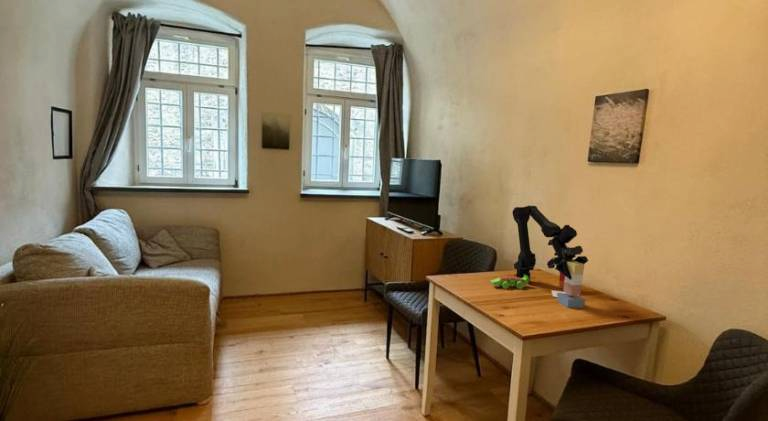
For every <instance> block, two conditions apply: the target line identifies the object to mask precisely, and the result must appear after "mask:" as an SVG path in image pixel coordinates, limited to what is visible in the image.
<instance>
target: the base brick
mask: <svg viewBox="0 0 768 421" xmlns="http://www.w3.org/2000/svg"><path fill="white" fill-rule="evenodd" d="M557 302H558V303H559V304H562V305H563V306H564V307H566V308H567V309H568V308H569V309H571V308H573V309H574V308H576V309H577V308H579V309H581V308H583V309H584V308H585V304H586V299H585V298H583V297H582V296H580V295H579V296H578V295H569V294H567V293H558V297H557Z"/></svg>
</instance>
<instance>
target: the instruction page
mask: <svg viewBox="0 0 768 421" xmlns="http://www.w3.org/2000/svg"><path fill="white" fill-rule="evenodd" d="M558 293H565V292H563V291H561V290H560V291H559V290H551V295H552V297H554V298H558ZM578 296H580V295H578Z"/></svg>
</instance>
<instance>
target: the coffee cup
mask: <svg viewBox="0 0 768 421" xmlns="http://www.w3.org/2000/svg"><path fill="white" fill-rule="evenodd" d="M558 279H559V281H558V283H559V284H558V286H559V287H558V288H559V289H561V290H563V289H564V282H565V275H563V274H562V273H561V272H559V278H558Z"/></svg>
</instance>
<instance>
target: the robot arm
mask: <svg viewBox="0 0 768 421" xmlns="http://www.w3.org/2000/svg"><path fill="white" fill-rule="evenodd" d="M512 216H513V220H514V221H515V223H516V224H517V231H518V240H519V241H518V242H519V250H520V251H519V254H518V256H517V261H516V262H515V263H514V264H513V268H514V269H515V270H516V275H515V277H519V278H523V277H524V275H526V276H528V277H529V282H530V281H531V276H532V275H531V274H532V272H531V271H534V269H535V266H536V263H537V258H536V253H533V252H532V251H531V243H530V236H529V227H528V222H529V221H530V217H531V218H532V220H534V222H536V224H538V225H539V227H540V228H541V229H540V230H541V231H540V232H542V233H543V236H544V237H545V238H552V239H548V240H549V241H548V242H547V246H552V248H553V250H554V253H553V254H554V256H553V257H551V258H550V259H549V260H548V261H547V262H546V263H547V264H546V266H547V268H548V269H555V271H557V272H559V273H560V272H561V273H562V274H563V275H565V276H566V277H567V278H569V279H570V280H571V279H572V277H571V274H570V272H569V270H568V268H567V262H571V261H577V262H579V263H582V264H584V265H585V264H586V263H588V262H589V259H588V257H587V256H585V255H582V253H583V252H584V250H583V247H582V245H576V246H575V247H569V246H567V244H568V243H570V242H571V241H573V240H574V239H575V238H576V237H577V236H578V232H577V230H576V229H575V228H573V227H572V226H570V224H565V225H564V226H563V227H562V228H561V227H560V226H559V225H558V224H556V223H555V222H552V221H550V219H548V218H547V217H546V216H545V215H544V214H543V213H542V212H541V211H540V209H538V206H536V205H526V206H516V207H513V209H512ZM578 255H580V256H578ZM574 258H575V259H574Z"/></svg>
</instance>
